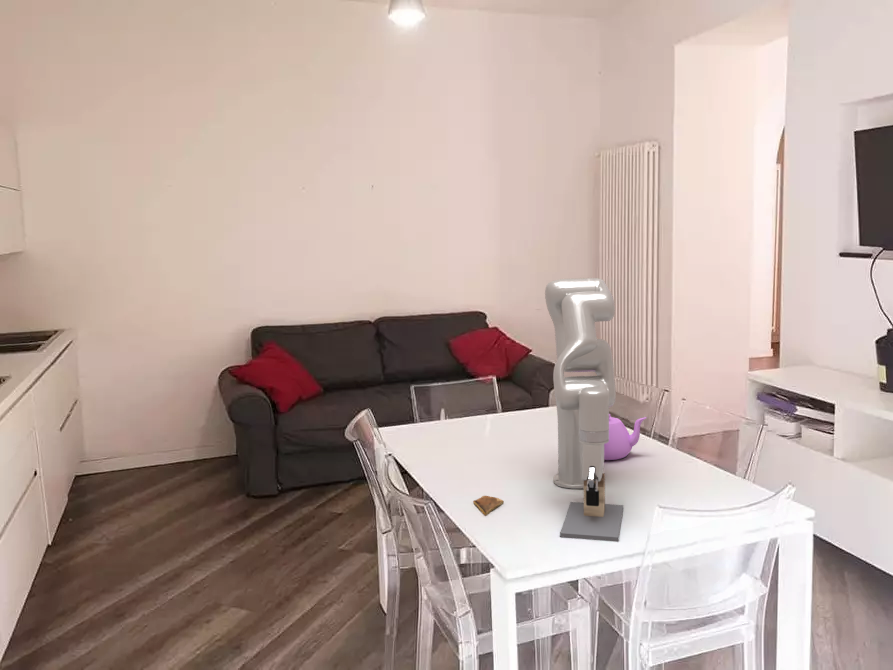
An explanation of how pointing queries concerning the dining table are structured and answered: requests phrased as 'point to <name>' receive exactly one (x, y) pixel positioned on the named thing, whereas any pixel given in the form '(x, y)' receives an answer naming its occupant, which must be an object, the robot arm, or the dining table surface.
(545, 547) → the dining table surface
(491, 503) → the shard
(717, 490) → the dining table surface
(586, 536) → the mat
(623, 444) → the teapot
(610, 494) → the dining table surface
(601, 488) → the maple block
